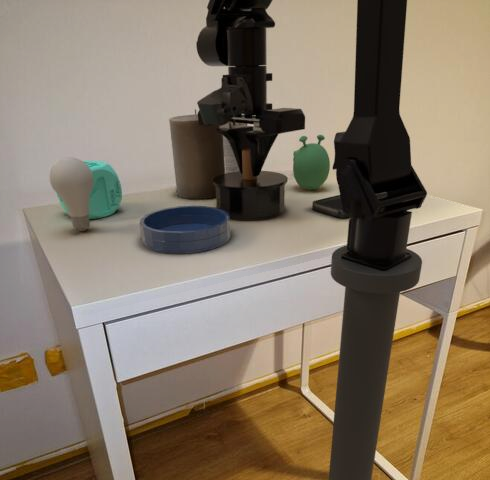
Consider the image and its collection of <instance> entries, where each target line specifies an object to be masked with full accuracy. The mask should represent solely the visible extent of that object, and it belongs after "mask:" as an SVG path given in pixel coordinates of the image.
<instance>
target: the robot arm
mask: <svg viewBox="0 0 490 480" xmlns="http://www.w3.org/2000/svg"><path fill="white" fill-rule="evenodd" d="M272 2H273V0H209V1H208V3H207V6H206V8H207V14H206V17H205V26H204V27H203V28H202V29H201V30H200V31H199V34H198V37H197V40H196V52H197V55H198V57H199V59H200V60H201V62H203V64H205V65H206V66H209V67H227V70H228V71H227V74H222V77H221V80H220V81H221V82H220V83H221V84H220V85H221V87H220V88H217V89H216V90H214V91H213V90H212V91H211V92H210V93H208V94H207V95H205V96H204V97H202V98H201V99H199V100H197V102H196V105H197V107H198V109H199V110H198V111H197V114H198V124H199V125H205V126H211V125H212V124H215V125H216V126H219V128H218V129H216V131H217V132H219V133H221V134H222V135H223V136H224V137H226V138H227V139H228V141H229V143H230V145H231V148H232V150H233V153H234V156H235V159H236V161H237V164H238V167H239V170H240V173H241V174H243V171H242V150H243V149H251V165H252V173H253V176H258V175H259V174H260V172H261V171H262V169H263V167H264V165H265V162H266V160H267V159H268V158H267V157H268V156H269V153H270V151H271V149H272V147H273V146H274V143H275V141H276V140H277V138H278V136H279V135H280V134H286V133H290V132H296V131H302V130H303V131H304V130H305V129H306V114H305V113H304V111H303V109H302V108H294V107H279V108H273V103H269V102H268V94H267V93H268V89H267V88H268V85H267V83H268V82H272V81H273V73H272V72H267V71H268V70H267V69H268V68H267V66H268V63H267V29H273V28H275V26H276V21H275V20H274V19H273V18H272V17H271V16H270V15H269V14H268V12H267V9H268V8H269V7H270V5H271V4H272ZM356 4H357V5H356V30H355V31H356V33H355V34H356V37H355V63H354V91H353V92H354V94H353V95H354V96H353V97H354V98H353V115H352V118H351V120H350V122H349V123H348V126H347V128H346V130H345V131H339V132H336V133H335V134H334V137H333V138H334V139H333V146H334V147H333V149H334V160H333V164H332V170H333V171H334V170H335V178H336V182H337V185H338V190H339V195H340V197H341V203H342V209H343V212H344V213H347V214H350V215H351V216H350V217H349V219H348V224H347V225H348V226H347V239H346V245H347V250H349V251H348V252H346V253H343V254H342V255H341V258H342V259H344V260H347V261H351V262H354V263H357V264H360V265H364V266H367V267H370V268H373V269H377V270H380V271H387V270H389V269H391V268H393V267H395V266H397V265H399V264H400V263H402V262H404V261H406V260H408V259H410V258H411V257H412V254H411V253H408V252H406V249H408V240H409V234H410V228H411V222H412V221H411V220H412V216H413V212H412V211H410V210H414V209H416V210H417V209H421V207H422V205H423V203H424V201H425V199H426V197H427V195H428V192H427V190H426V188H425V186H424V184H423V183H422V181H421V179H420V177H419V176H418V173H417V171H416V169H414V167H413V165H412V153H411V150H412V149H411V138H410V135H409V133H408V130H407V128H406V126H405V123H404V121H403V118H402V116H401V114H400V113H401V112H400V104H401V91H402V80H403V79H402V77H403V66H404V65H403V64H404V50H405V35H406V23H407V22H406V21H407V10H408V9H407V7H408V0H357V1H356ZM245 124H247V126H246V125H245ZM386 192H387V197H382V198H377V196H376V195H378V194H382V193H386Z"/></svg>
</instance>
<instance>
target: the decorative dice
mask: <svg viewBox="0 0 490 480" xmlns="http://www.w3.org/2000/svg"><path fill="white" fill-rule="evenodd" d="M82 161H83V162H84V163H85V164H87V166H88V167H89V168H90V170H91V172H92V174H93V179H94V180H93V187H92V191H91V194H90V197H89V214H88V215H89V220H96V219H102V218H107V217H109V216H111V215H113V214H114V213H116V211H117V210H118V208H119V206H120V205H121V202H122V198H123V190H122V186H121V185H122V184H121V181H120V179H119V176H118V174H117V172H116V170H115V169H114V168H113V167H112V165H111V164H109V163H108V162H106V161H104V160H103V161H102V160H86V161H85V160H82ZM56 196H57V199H58V201H59V203H60V205H61V207H62V209H63V210H64V211H65V213H66V214H67V215H68V216H70V215H69V214H68V211H67V208H66V206H65V204H64V202H63V201H62V199H61V198H60V197H59V195H58V194H57V193H56Z"/></svg>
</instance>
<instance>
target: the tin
mask: <svg viewBox="0 0 490 480" xmlns="http://www.w3.org/2000/svg"><path fill="white" fill-rule="evenodd" d="M285 185H286V184H284V185H282V186H279V187H276V188H271V189H265V190H254V191H238V190H228V189H222V188H219V187H216V197H215V200H216V208H218V209H221V210H224V211H225V212H227V213H228V214H229V217H230V220H232V221H243V222H252V221H253V222H255V221H263V220H269V219H270V220H271V219H273V218H276V217H278V216H281V215H282V214H283V213H284V212H285V193H286V191H285V187H286V186H285Z"/></svg>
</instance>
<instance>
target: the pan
mask: <svg viewBox="0 0 490 480" xmlns="http://www.w3.org/2000/svg"><path fill="white" fill-rule="evenodd" d="M139 229H140V235H141V236H140V237H141V241H142V244H143V246H144V247H145V248H147V249H148V250H150V251H153V252H157V253H162V254H171V255H183V254H184V255H185V254H197V253H202V252H207V251H211V250H214V249H217V248H219V247H221V246H223V245H225V244H226V243H228V242H229V241H230V239H231V233H232V232H231V219H230V217H229V214H228V213H227V212H225V211H224V210H221V209H218V208H217V207H213V206H207V205H181V206H173V207H166V208H162V209H158V210H155V211H151V212H149V213H147V214H144V216H142V217H141V218H140V219H139Z"/></svg>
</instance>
